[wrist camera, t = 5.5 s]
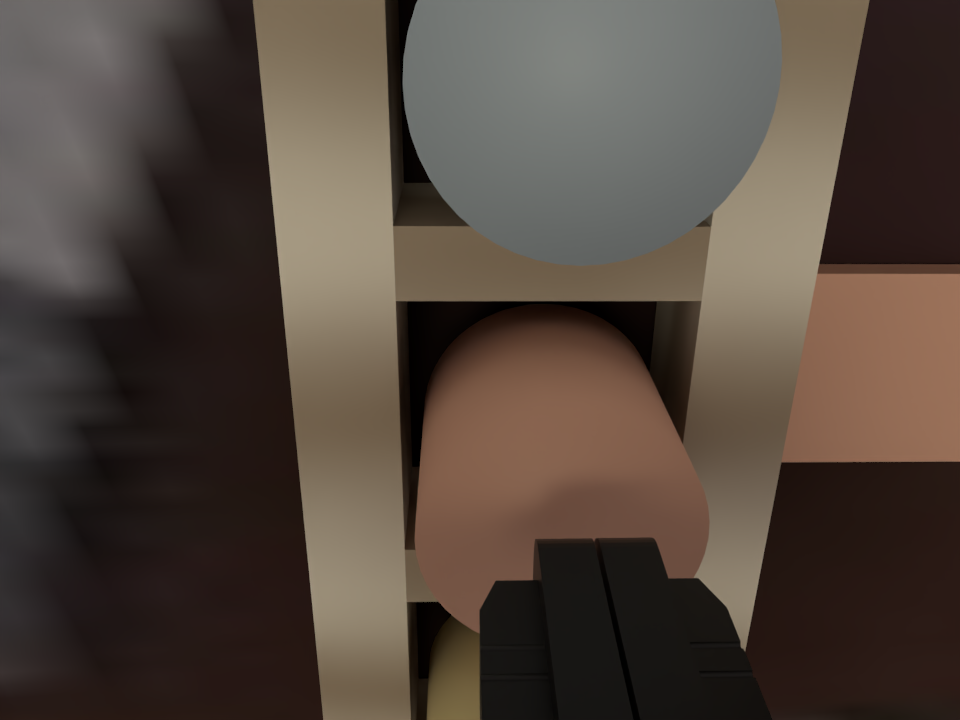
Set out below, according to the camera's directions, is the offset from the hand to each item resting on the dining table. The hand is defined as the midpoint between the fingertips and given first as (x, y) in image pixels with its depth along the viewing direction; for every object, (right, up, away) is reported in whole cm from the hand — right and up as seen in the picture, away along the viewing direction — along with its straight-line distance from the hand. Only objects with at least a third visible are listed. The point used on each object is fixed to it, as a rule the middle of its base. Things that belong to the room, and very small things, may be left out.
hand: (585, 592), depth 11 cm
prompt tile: (+7, +3, +7) cm, 11 cm away
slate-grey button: (0, +8, +3) cm, 8 cm away
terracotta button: (0, +2, +5) cm, 6 cm away
